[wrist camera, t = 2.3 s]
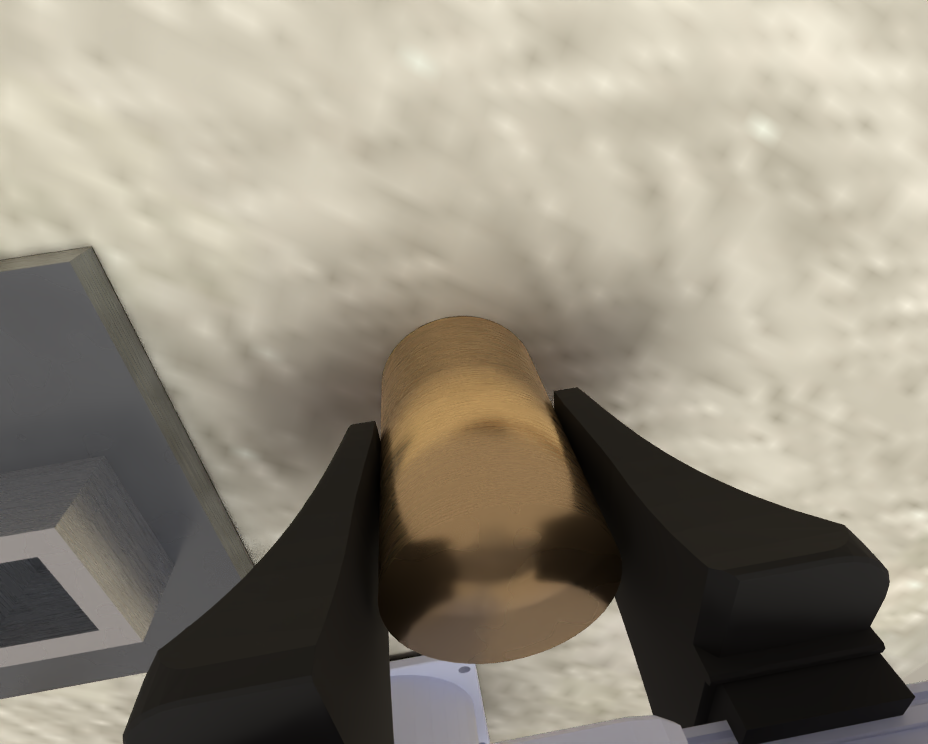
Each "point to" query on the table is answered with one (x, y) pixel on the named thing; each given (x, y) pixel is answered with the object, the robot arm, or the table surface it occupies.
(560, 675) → the table surface
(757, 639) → the robot arm
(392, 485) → the cylindrical peg
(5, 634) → the fitting plate
